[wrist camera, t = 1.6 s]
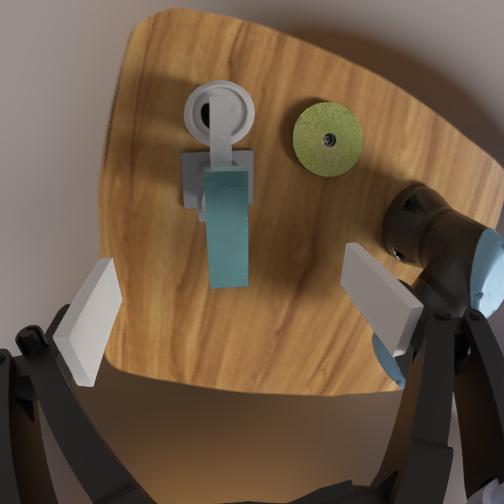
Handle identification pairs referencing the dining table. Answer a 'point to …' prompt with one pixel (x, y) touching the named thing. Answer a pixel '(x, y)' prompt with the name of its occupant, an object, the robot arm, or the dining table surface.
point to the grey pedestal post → (195, 176)
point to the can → (200, 110)
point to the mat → (327, 139)
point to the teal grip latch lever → (225, 203)
